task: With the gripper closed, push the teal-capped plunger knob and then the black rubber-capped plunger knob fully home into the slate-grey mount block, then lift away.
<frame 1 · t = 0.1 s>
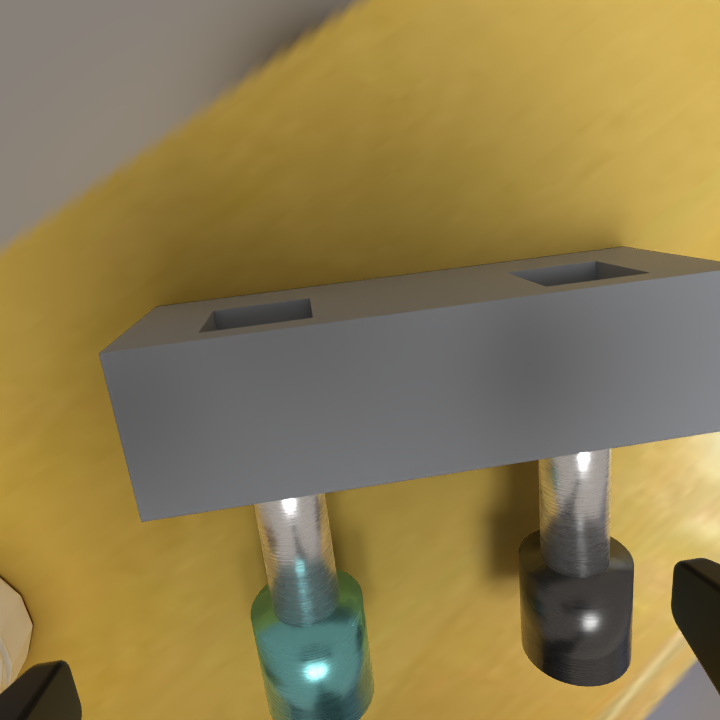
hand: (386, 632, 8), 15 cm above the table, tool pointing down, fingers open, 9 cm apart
mount: (403, 339, 22), on the table
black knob: (574, 509, 21), point 4 cm above the table, slide at 0.0 cm
teal knob: (298, 554, 20), point 4 cm above the table, slide at 0.0 cm
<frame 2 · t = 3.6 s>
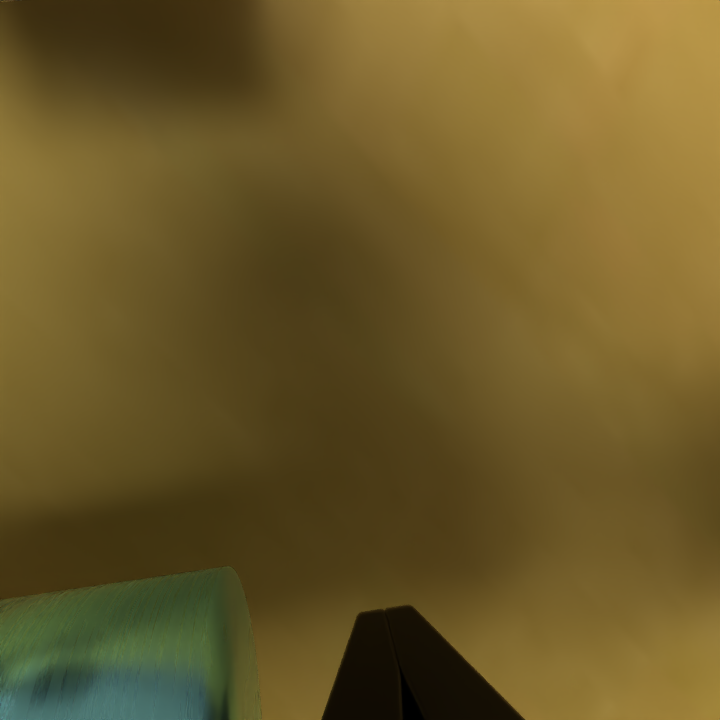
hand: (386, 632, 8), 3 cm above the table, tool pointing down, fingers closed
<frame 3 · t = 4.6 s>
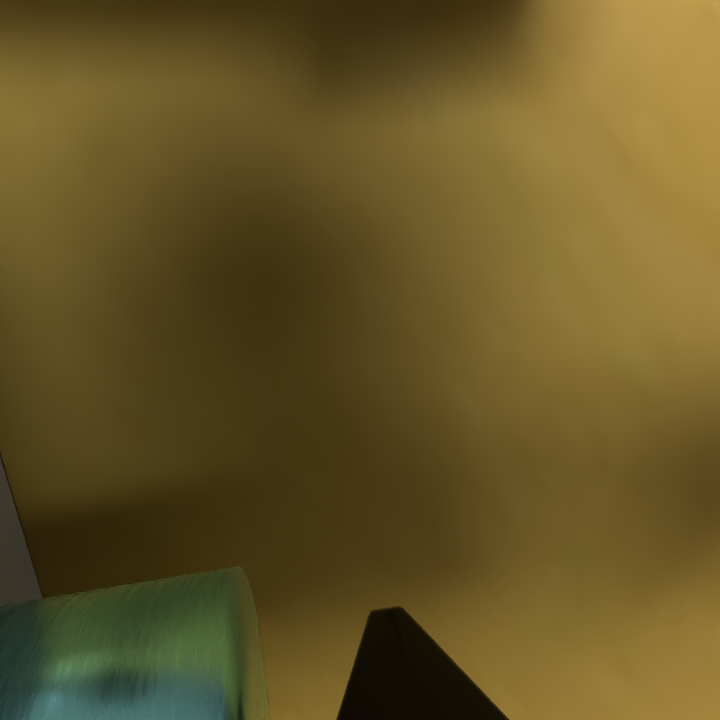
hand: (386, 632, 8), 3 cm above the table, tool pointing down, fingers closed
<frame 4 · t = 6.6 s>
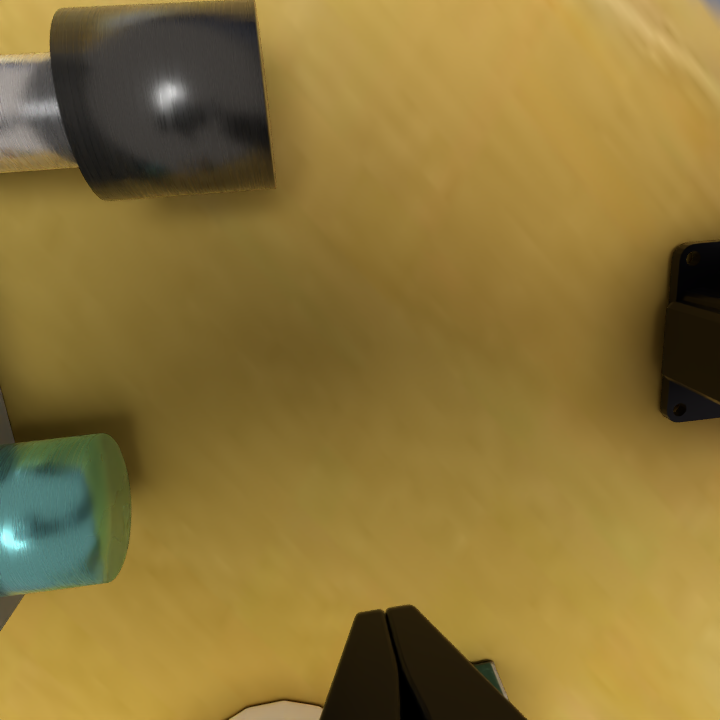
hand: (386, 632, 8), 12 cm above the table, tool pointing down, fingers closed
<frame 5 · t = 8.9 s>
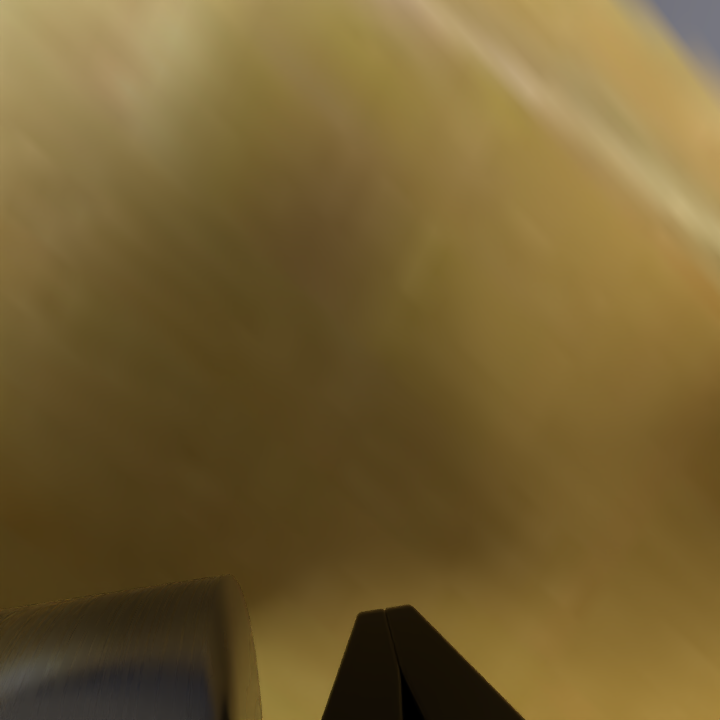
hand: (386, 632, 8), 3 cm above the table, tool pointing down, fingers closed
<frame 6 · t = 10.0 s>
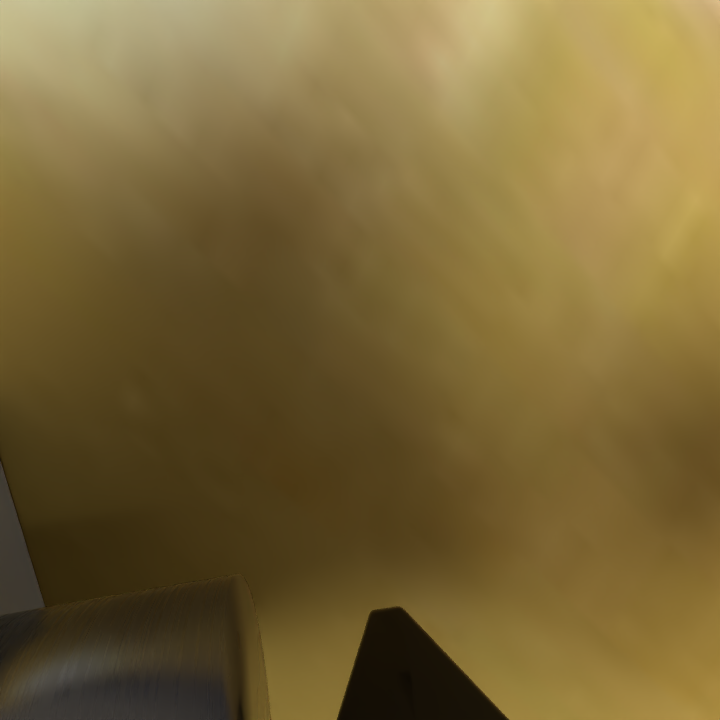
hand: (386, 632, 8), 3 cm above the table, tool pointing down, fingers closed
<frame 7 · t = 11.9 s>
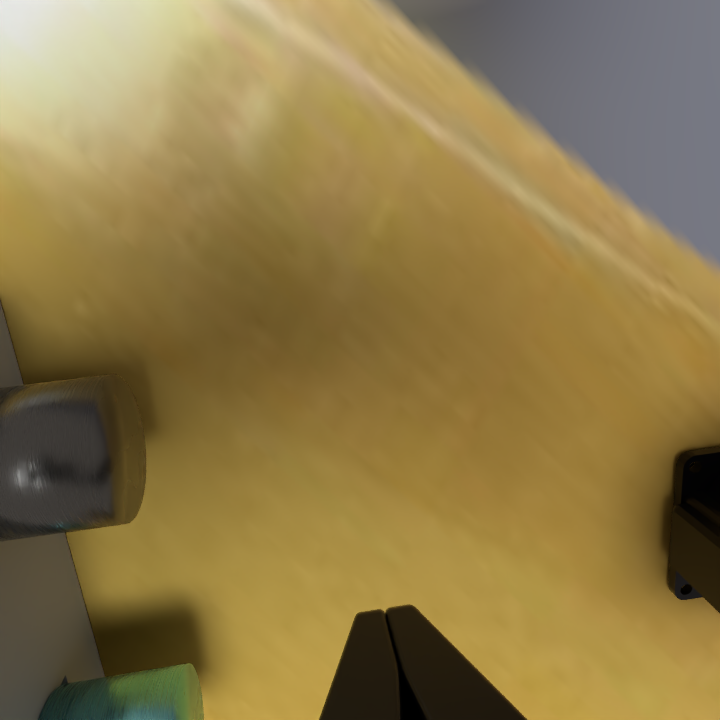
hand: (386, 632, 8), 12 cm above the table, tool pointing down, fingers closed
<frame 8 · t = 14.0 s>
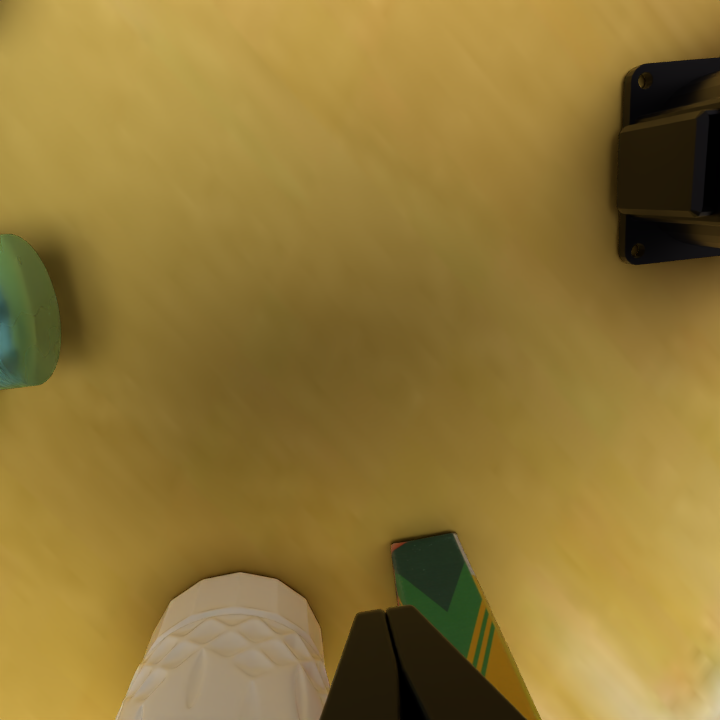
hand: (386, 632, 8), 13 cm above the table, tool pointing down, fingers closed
crayon box: (428, 606, 24), on the table
white cup: (239, 637, 24), on the table
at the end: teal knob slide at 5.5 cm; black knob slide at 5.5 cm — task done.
